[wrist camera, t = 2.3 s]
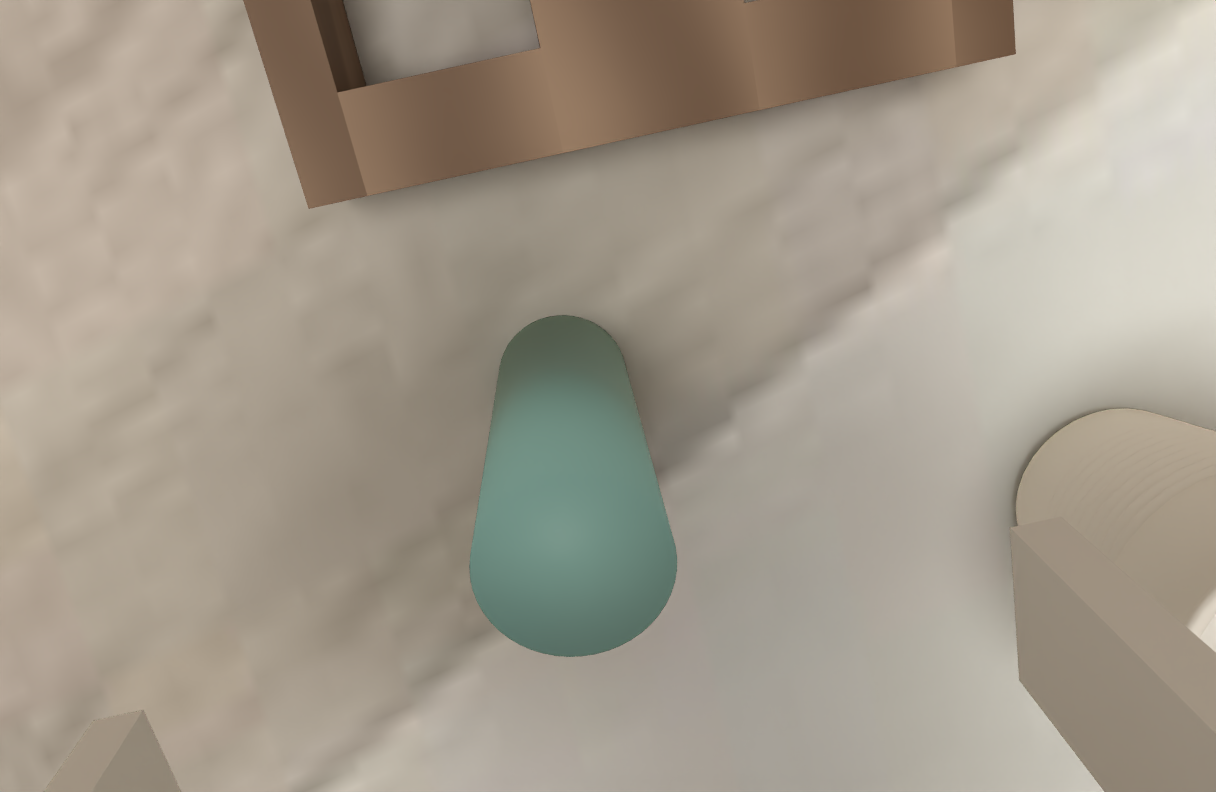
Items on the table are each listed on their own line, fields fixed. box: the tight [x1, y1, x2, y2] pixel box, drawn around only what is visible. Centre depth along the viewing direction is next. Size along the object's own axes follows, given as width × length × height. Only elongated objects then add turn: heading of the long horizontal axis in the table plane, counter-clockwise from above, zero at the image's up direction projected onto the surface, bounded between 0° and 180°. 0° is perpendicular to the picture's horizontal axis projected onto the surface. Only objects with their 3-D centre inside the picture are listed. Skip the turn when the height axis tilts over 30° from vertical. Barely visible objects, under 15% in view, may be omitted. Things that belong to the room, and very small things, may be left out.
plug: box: [469, 315, 677, 657], centre depth 23 cm, size 4×4×12 cm
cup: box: [1016, 408, 1216, 652], centre depth 26 cm, size 10×10×11 cm
